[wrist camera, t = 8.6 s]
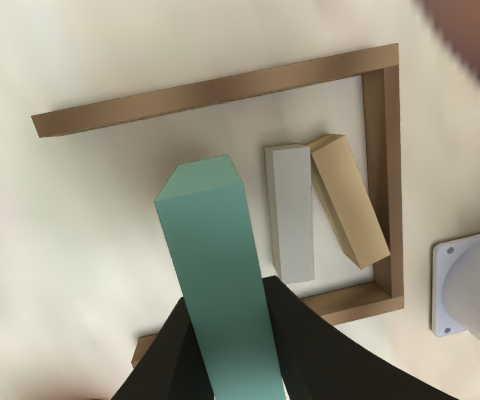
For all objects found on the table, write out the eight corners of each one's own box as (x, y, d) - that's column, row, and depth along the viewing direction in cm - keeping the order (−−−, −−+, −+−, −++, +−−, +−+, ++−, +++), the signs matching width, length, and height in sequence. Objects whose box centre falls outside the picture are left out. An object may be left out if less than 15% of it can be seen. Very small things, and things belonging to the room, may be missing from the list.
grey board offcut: (295, 143, 16) (309, 146, 14) (300, 259, 19) (314, 279, 16) (263, 147, 16) (272, 150, 14) (272, 263, 19) (282, 284, 16)
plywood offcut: (325, 133, 16) (345, 135, 14) (367, 237, 19) (390, 254, 16) (296, 149, 16) (311, 153, 14) (341, 251, 19) (361, 269, 16)
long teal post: (228, 154, 11) (242, 182, 6) (268, 345, 14) (299, 465, 9) (178, 164, 11) (154, 201, 6) (230, 355, 14) (241, 481, 9)
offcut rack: (374, 52, 15) (398, 42, 13) (385, 290, 20) (404, 308, 18) (54, 116, 14) (30, 116, 12) (143, 349, 19) (135, 374, 17)
